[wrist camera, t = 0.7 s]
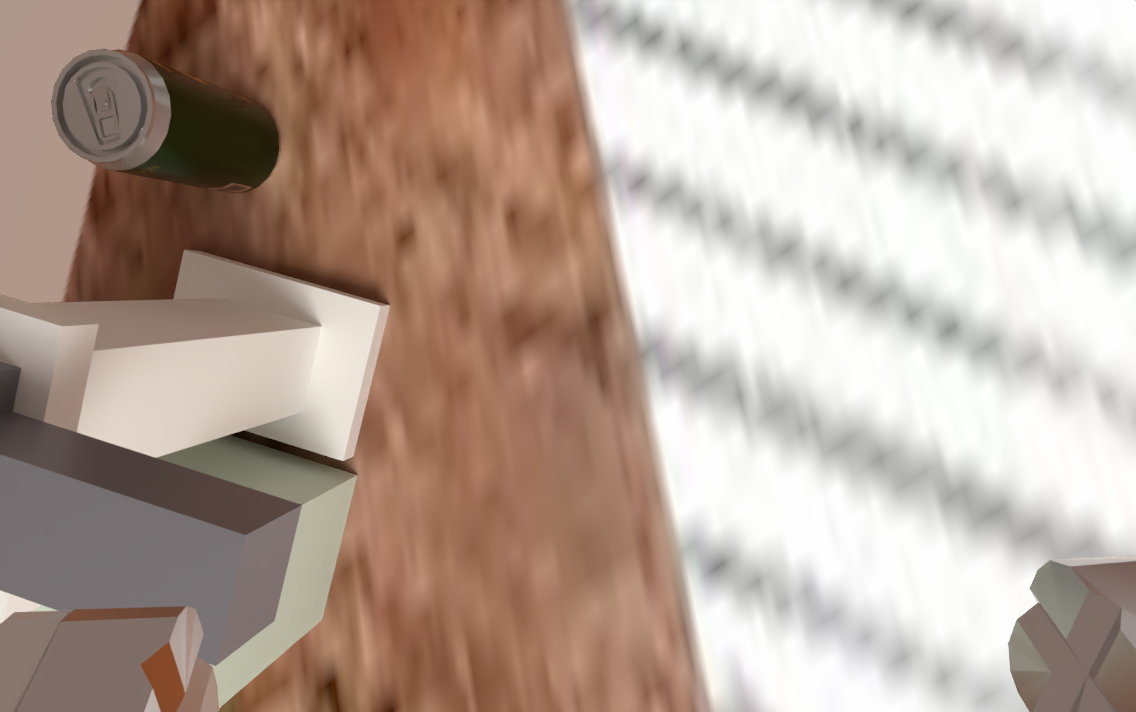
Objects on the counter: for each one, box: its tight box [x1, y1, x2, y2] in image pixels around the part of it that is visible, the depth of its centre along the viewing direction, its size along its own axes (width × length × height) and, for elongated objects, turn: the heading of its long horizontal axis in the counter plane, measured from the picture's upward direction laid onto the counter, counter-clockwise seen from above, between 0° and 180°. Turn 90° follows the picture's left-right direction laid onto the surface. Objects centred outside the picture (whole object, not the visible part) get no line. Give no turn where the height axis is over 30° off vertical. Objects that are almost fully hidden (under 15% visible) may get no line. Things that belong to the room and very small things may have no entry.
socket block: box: [0, 435, 357, 708], centre depth 45 cm, size 9×11×16 cm
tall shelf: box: [0, 250, 390, 623], centre depth 39 cm, size 9×12×26 cm
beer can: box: [51, 49, 281, 193], centre depth 45 cm, size 5×5×12 cm
